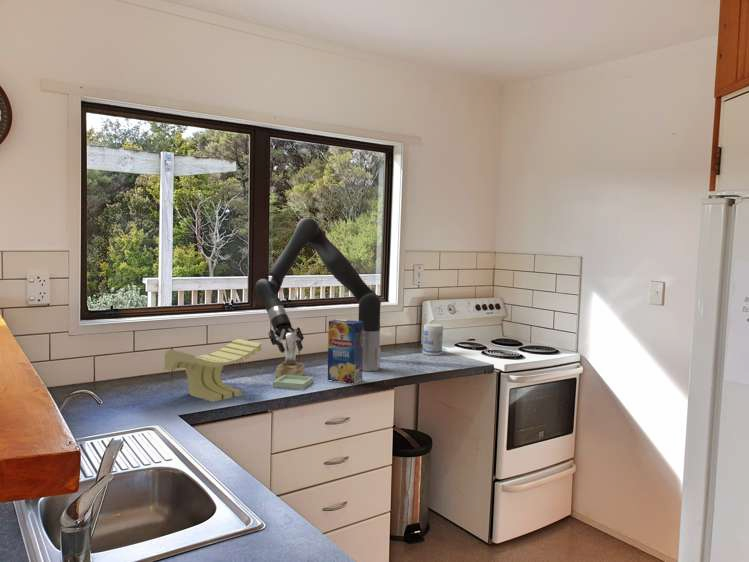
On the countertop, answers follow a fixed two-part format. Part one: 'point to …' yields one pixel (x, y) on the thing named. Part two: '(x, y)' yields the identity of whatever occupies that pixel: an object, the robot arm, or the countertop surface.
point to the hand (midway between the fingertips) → (292, 350)
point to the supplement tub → (432, 339)
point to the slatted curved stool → (211, 368)
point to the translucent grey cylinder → (290, 348)
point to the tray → (293, 381)
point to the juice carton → (345, 350)
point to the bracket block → (290, 369)
